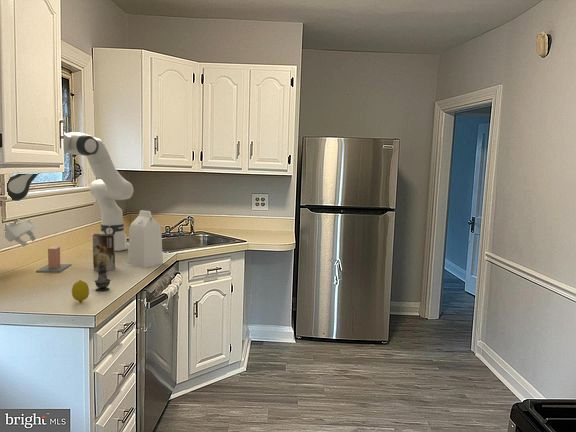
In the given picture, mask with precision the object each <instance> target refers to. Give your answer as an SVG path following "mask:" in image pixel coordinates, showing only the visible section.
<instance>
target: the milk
mask: <svg viewBox="0 0 576 432" xmlns="http://www.w3.org/2000/svg"><path fill="white" fill-rule="evenodd" d="M161 226H162V225H160V223H159V222H158V221H157V220H156V219H155V218H154V217H153V216H152V212H151V211H150V210H143V209H142V210H139V213H138V216H137V217H136V218H134V220H133V221H132V222H131V224H130V225H129V229H128V243H129V246H128V249H127V251H128V252H127V265H132V266H137V267H141V268H147V267H153V266H156V265H157V266H158V265H162V264H164V260H163V259H164V258H163V256H164V255H163V242H162V241H163V240H162V227H161Z"/></svg>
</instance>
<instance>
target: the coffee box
mask: <svg viewBox="0 0 576 432" xmlns="http://www.w3.org/2000/svg"><path fill="white" fill-rule="evenodd" d="M92 258H93V260H92V261H93V263H92V264H93V265H92V266H93V271H95V272H96V271H98V264H99V263H100V262H101V260H103V261H104V262H105V263H106V270H107V271H115V269H116V251H115V237H114V234H99V233H94V234H93V235H92Z"/></svg>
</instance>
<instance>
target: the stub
mask: <svg viewBox="0 0 576 432" xmlns="http://www.w3.org/2000/svg"><path fill="white" fill-rule="evenodd" d="M47 263H48V264H47V265H48V268H58V267H60V264H61V247H60V246H50V247H48V248H47Z"/></svg>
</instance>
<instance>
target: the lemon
mask: <svg viewBox="0 0 576 432" xmlns="http://www.w3.org/2000/svg"><path fill="white" fill-rule="evenodd" d="M89 294H90V286H89V285H88V283H87V282H85V281H84V280H81V279H79V280H78V281H76V282H74V284H72V287H71V295H72V298H73V299H74V300H75V301H77V302H79V303H82V302H83V301H85V300H86V299H88V297H89Z"/></svg>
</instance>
